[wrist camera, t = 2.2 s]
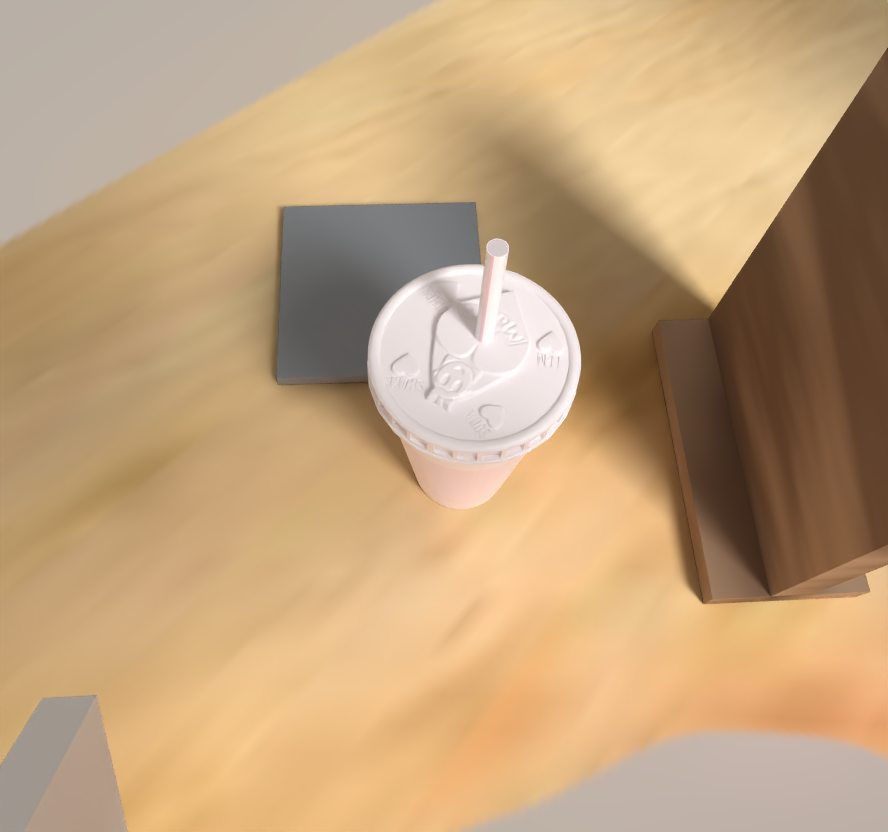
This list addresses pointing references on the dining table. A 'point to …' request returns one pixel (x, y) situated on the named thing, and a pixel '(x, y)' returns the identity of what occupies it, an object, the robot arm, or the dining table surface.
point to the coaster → (356, 277)
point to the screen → (794, 386)
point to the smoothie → (472, 374)
